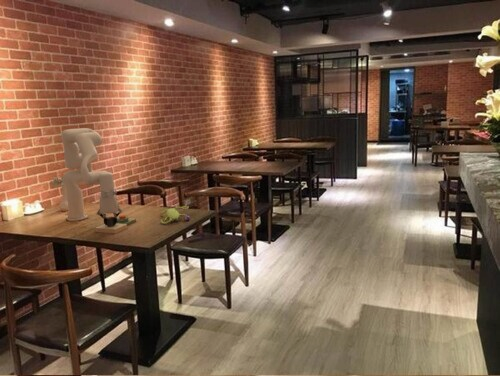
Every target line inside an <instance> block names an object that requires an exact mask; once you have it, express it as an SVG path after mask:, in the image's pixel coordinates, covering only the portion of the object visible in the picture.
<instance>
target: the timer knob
mask: <svg viewBox="0 0 500 376" xmlns="http://www.w3.org/2000/svg"><path fill="white" fill-rule="evenodd" d="M106 221H107V227H113V226H115V225H114V216H106Z"/></svg>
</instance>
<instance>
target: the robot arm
mask: <svg viewBox="0 0 500 376" xmlns="http://www.w3.org/2000/svg"><path fill="white" fill-rule="evenodd" d="M60 136H61V137H60V139H61V143H62V145H63V150H64V151H63V152H64V153H63V154H64V165H65V167H66V169H69V170H68V171H66V172H64V173H63V175H62V176H63V181H64V184H65V188H66V194H67V202H68V210H69V211H65V213H64V215H65V216H67V217H66V220H67V221H68V222H69V221H70V222H78V221H83V220H86V219H88V218H89V217H88V215H87V214H86V212H85V211H86V210H85V203H84V194H83V190H82V188H80V186H79V185H85V184H86V185H87V186H95V185H99V190H100V196H99V209H98V210H97V212H96V215H97V216H99V217H100V218H101V219H103V224H105V226H106V225H107V221H106V218H107V215H108V214H112V215H113V217H114V225H116V223H117V218H118V217H119V216H120V215H122V213H123V210H122V208H121V207H119V201H118V196H117V194H118V191H117V190H115V184H114V174H113V173H112V172H110V171H107V170H96V171H92V170H93V166H92V162H94V161H95V160H96V159H97V158H98V156H99V153H98V151H97V149H96V147H99V146H101V145H102V142H103V141H102V136H101V134H100V133H98V132H97V131H96V130H93V129H92V128H89V127H81V128H68V129H64V130H62V132H61V135H60Z"/></svg>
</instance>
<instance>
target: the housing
mask: <svg viewBox="0 0 500 376" xmlns="http://www.w3.org/2000/svg"><path fill="white" fill-rule="evenodd" d="M125 217H126V218H124V219H119V217H117V224H127V227H128V226H130V225H132V224H134V223H136V222H137V219H136V218H129V217H128V216H125Z"/></svg>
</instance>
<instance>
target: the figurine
mask: <svg viewBox="0 0 500 376" xmlns="http://www.w3.org/2000/svg"><path fill="white" fill-rule="evenodd" d="M189 208H190V206H187V205H186V206H185V205H183V206H176V207H173V208H163V210H162V211H161V213H160V216H161V217H162V216H163V215H164V214H165V213H166V216H165V217H164V221H163V218H161V219H160V223H161V224H162V225H167V224H169V223H171V222H174V221H179V218H180V217H183V219H184V220H185V221H189V220H190V218H191V216H190V215H189V214H185V213H179V211H178V210H181V209H182V210H185V211H187V210H189Z"/></svg>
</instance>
